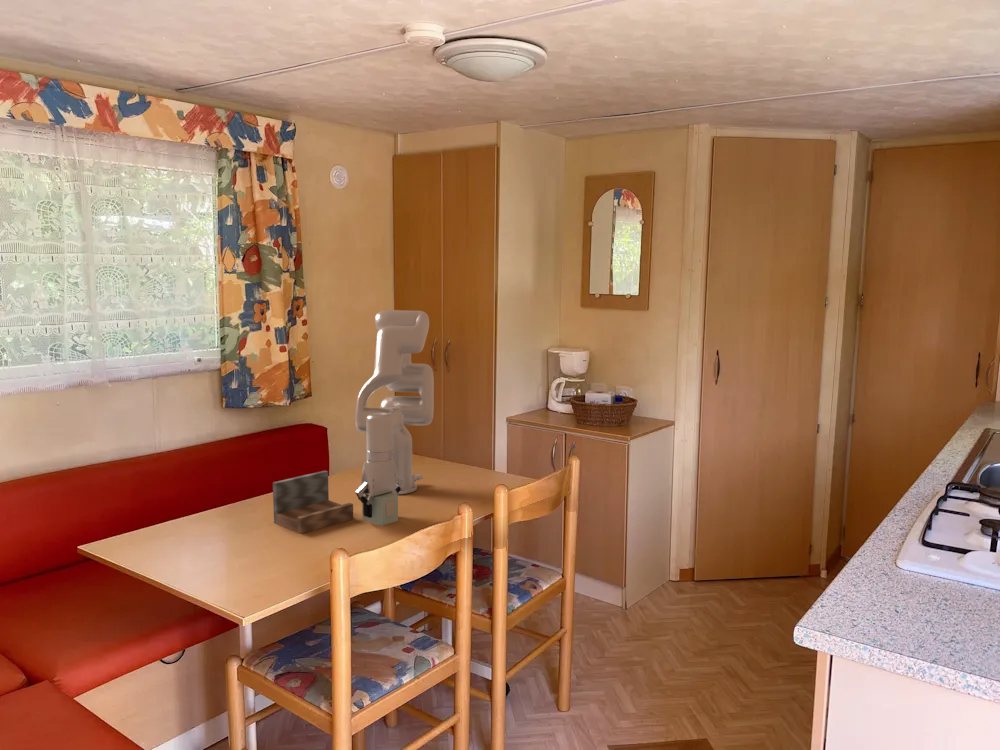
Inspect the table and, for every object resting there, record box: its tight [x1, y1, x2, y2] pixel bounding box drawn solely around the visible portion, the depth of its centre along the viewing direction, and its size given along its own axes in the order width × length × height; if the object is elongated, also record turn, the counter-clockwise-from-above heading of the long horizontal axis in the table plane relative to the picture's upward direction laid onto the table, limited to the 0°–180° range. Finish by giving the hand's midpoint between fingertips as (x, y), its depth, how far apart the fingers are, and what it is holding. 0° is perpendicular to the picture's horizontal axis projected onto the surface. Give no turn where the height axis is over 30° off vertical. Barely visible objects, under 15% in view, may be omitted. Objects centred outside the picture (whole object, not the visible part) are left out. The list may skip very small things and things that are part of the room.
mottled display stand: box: [272, 470, 354, 535], centre depth 226 cm, size 18×14×12 cm
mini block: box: [361, 492, 399, 527], centre depth 228 cm, size 6×9×8 cm, turn 48°
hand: (380, 512), depth 228 cm, fingers open, 8 cm apart
